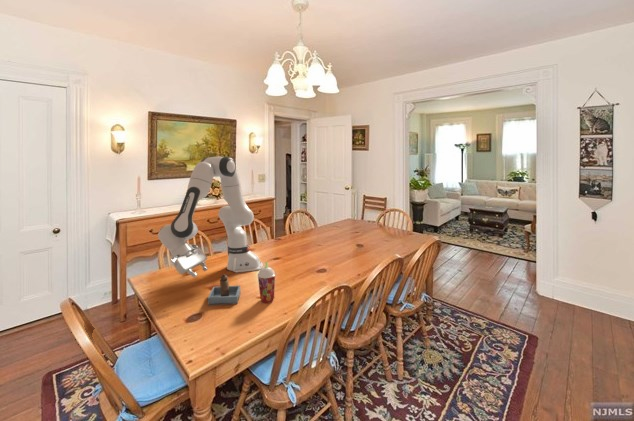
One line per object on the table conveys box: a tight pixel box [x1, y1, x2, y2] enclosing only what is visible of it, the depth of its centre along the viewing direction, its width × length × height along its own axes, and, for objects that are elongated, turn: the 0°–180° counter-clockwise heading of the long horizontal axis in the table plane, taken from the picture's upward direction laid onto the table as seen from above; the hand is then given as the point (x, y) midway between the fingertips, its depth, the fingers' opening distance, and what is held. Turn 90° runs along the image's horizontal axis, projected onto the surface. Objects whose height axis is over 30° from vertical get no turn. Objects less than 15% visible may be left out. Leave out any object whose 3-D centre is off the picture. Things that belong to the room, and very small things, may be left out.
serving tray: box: [207, 285, 242, 306], centre depth 156 cm, size 14×13×4 cm
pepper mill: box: [219, 273, 230, 297], centre depth 155 cm, size 4×4×12 cm
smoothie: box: [257, 261, 276, 304], centre depth 152 cm, size 8×8×20 cm
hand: (201, 273), depth 158 cm, fingers open, 8 cm apart
